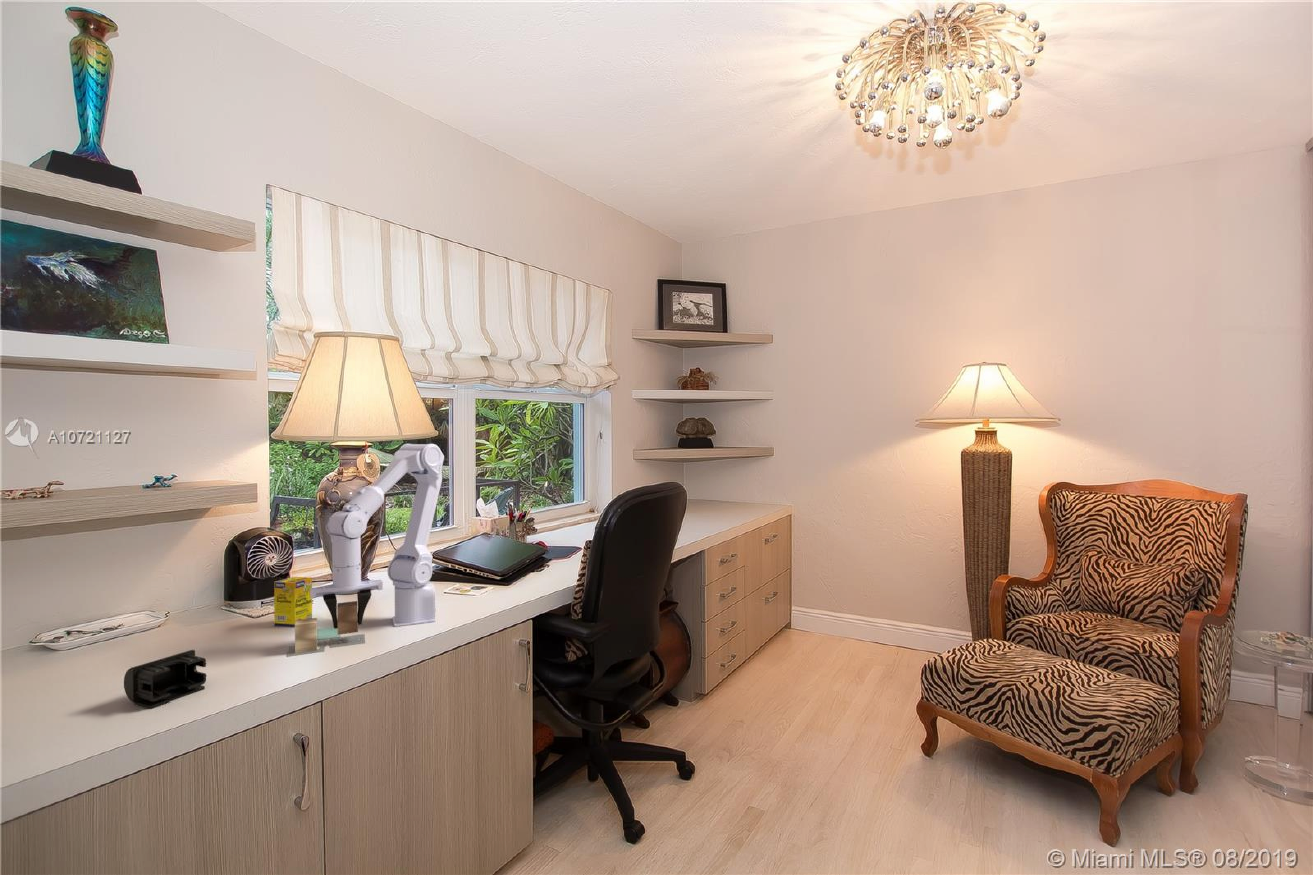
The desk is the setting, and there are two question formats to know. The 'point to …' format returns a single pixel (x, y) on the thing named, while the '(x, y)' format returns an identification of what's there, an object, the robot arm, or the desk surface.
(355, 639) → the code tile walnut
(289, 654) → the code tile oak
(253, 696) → the desk surface
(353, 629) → the walnut block
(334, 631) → the felt pad
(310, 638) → the oak block
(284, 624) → the supplement box
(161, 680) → the end cap
